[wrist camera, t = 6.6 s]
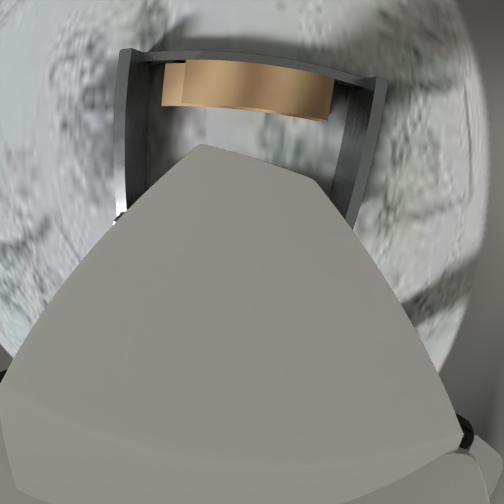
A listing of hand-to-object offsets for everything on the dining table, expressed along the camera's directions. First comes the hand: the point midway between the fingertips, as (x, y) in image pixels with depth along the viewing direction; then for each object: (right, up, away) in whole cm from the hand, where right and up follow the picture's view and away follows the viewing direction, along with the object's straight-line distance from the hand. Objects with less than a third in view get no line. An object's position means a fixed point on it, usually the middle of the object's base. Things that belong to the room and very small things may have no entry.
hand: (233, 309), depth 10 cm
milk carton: (0, +5, +7) cm, 9 cm away
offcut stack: (0, +19, +15) cm, 24 cm away
